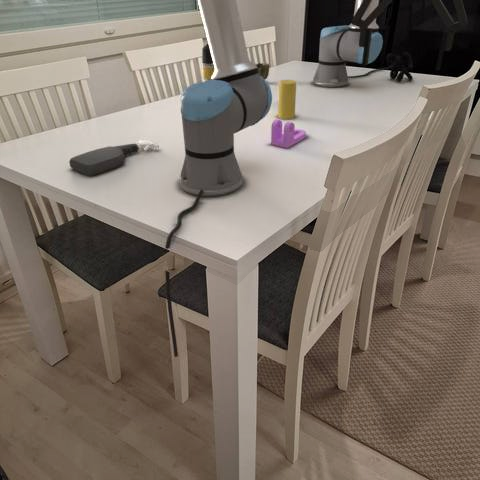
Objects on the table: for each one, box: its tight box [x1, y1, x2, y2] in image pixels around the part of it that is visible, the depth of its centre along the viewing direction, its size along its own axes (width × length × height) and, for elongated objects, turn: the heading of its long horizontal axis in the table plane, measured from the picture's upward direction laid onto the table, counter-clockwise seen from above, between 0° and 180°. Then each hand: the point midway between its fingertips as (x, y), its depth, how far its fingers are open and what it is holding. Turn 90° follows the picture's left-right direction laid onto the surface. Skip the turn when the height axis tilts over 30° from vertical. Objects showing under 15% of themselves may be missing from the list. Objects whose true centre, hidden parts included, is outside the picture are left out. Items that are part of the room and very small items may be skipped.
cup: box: [254, 62, 271, 81], centre depth 198 cm, size 8×7×8 cm
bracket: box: [270, 119, 307, 149], centre depth 134 cm, size 13×6×7 cm, turn 143°
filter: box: [201, 40, 215, 81], centre depth 171 cm, size 6×6×30 cm
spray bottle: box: [68, 139, 160, 177], centre depth 124 cm, size 3×11×24 cm
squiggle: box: [385, 51, 414, 83], centre depth 198 cm, size 11×10×15 cm
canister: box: [277, 79, 297, 120], centre depth 153 cm, size 6×6×12 cm
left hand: (400, 67), depth 86 cm, fingers open, 13 cm apart
